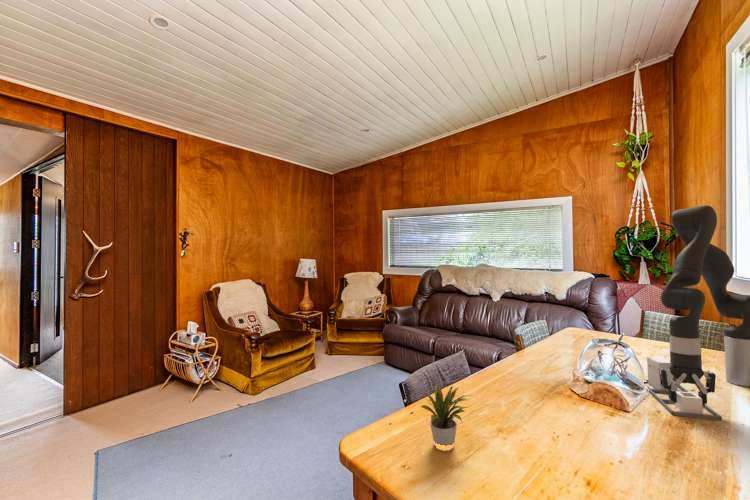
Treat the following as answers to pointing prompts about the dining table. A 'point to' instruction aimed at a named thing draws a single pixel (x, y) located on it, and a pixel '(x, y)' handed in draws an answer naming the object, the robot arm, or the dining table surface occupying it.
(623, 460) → the dining table surface
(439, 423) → the house plant
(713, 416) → the frame
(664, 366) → the small box
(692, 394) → the white and grey cube
